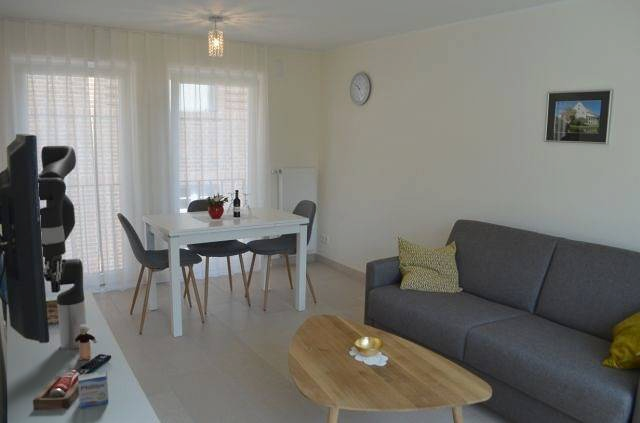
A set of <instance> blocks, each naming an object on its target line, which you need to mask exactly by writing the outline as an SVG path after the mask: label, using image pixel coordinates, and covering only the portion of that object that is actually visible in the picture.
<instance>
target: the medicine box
mask: <svg viewBox="0 0 640 423" xmlns="http://www.w3.org/2000/svg"><path fill="white" fill-rule="evenodd" d="M108 386H109V384H108V372H107V370H104V371H98V372H93V373H92V372H91V373H87V374H80V375H79V376H78V387H79V396H78V398H79V400H78V401H79V408H80V409H85V408H89V407H95V406H100V405H104V404H108V403H109V388H108Z"/></svg>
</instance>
